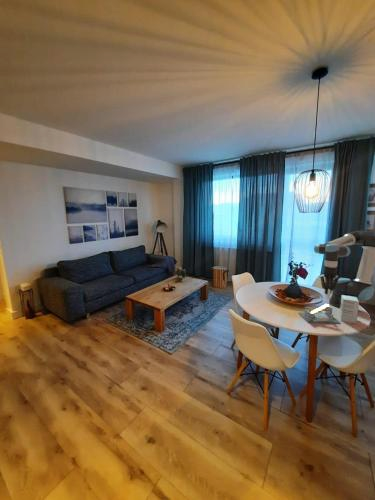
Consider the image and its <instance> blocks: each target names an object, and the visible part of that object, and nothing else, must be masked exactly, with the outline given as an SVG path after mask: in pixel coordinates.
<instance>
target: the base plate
mask: <svg viewBox="0 0 375 500" xmlns="http://www.w3.org/2000/svg"><path fill="white" fill-rule="evenodd" d="M307 307H308V306H304V312H301V311H299V312H297V313H298V314H299V316H300V317H301V318H302V319H303V320H304V321H306V322H307V324H341V322H340V321H339V320H338V319H336V318H335V317H334V314H333V307H332V306H330V307H328V308H326V311H325V312H324V311H320V312H318V313H316V314H314V313H311V311H313V310H311V309H307Z"/></svg>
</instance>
